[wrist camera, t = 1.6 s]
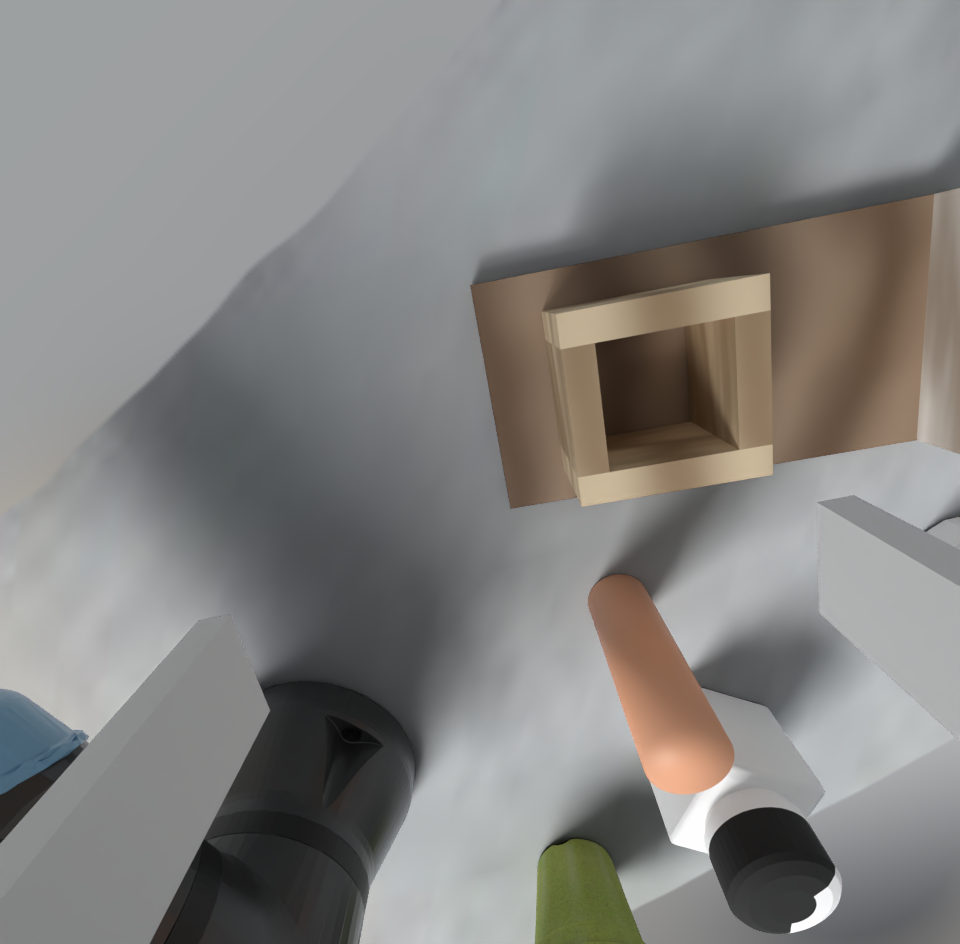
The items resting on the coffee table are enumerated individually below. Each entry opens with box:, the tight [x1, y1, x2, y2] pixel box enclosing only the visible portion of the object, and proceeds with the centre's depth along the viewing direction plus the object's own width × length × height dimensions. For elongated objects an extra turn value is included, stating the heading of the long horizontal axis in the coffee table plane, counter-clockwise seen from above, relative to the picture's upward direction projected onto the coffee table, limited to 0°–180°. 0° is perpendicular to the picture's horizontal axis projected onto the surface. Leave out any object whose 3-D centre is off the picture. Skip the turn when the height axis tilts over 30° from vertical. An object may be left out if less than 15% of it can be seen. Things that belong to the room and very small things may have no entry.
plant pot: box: [535, 839, 645, 944], centre depth 39 cm, size 9×9×9 cm
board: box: [470, 188, 960, 508], centre depth 26 cm, size 26×13×10 cm, turn 101°
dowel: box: [588, 574, 735, 794], centre depth 29 cm, size 4×4×13 cm
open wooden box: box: [542, 273, 773, 507], centre depth 26 cm, size 9×9×6 cm
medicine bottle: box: [650, 688, 842, 934], centre depth 33 cm, size 7×7×12 cm
